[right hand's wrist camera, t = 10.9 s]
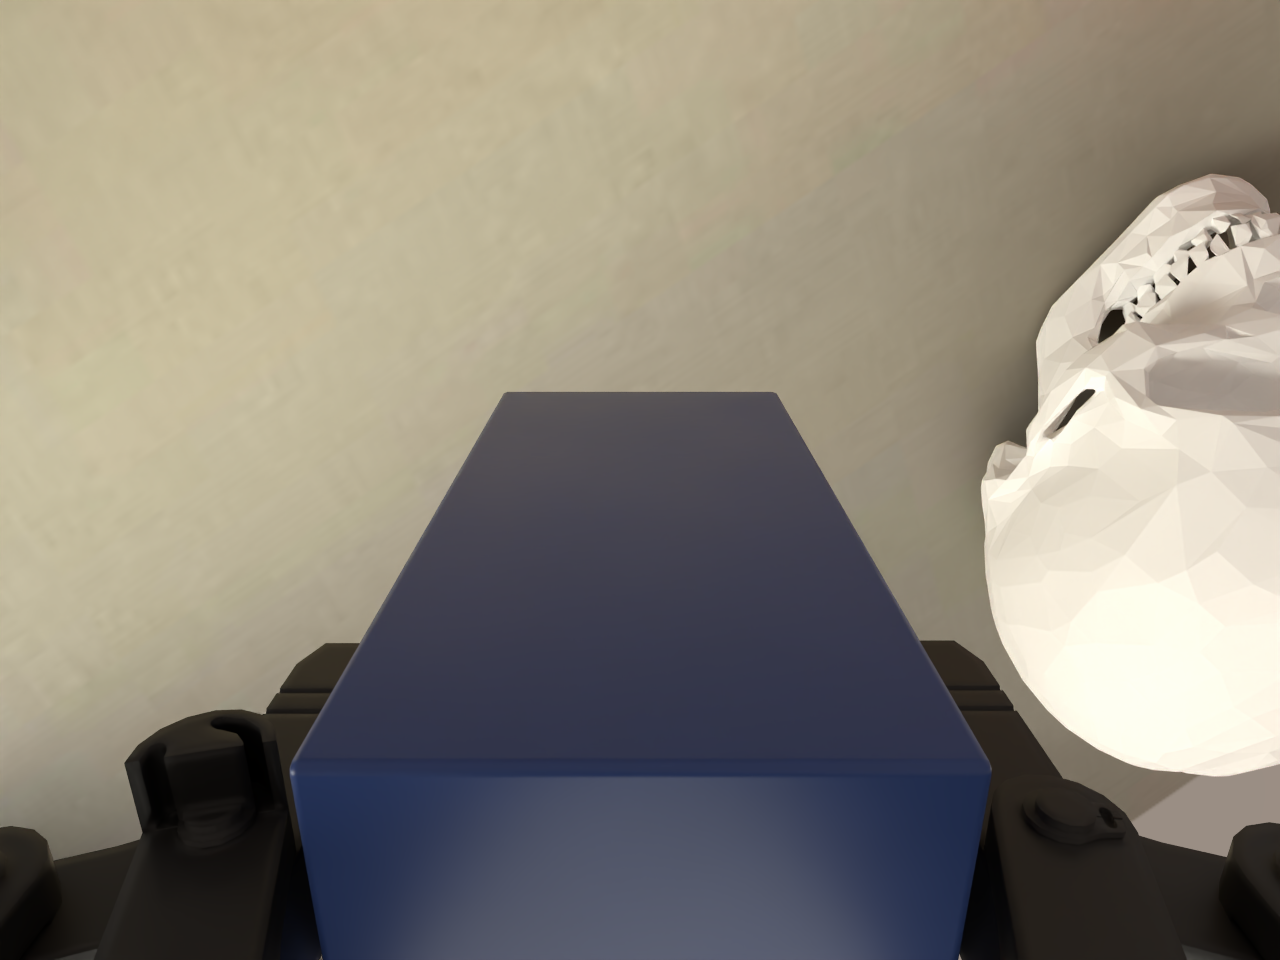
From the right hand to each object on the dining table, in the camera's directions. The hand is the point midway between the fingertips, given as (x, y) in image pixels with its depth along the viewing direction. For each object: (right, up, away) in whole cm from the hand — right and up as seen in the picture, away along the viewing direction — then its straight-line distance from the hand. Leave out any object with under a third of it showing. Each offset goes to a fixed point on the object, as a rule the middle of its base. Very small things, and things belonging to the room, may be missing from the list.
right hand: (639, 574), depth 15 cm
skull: (+21, +4, +24) cm, 32 cm away
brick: (0, +1, +2) cm, 2 cm away
